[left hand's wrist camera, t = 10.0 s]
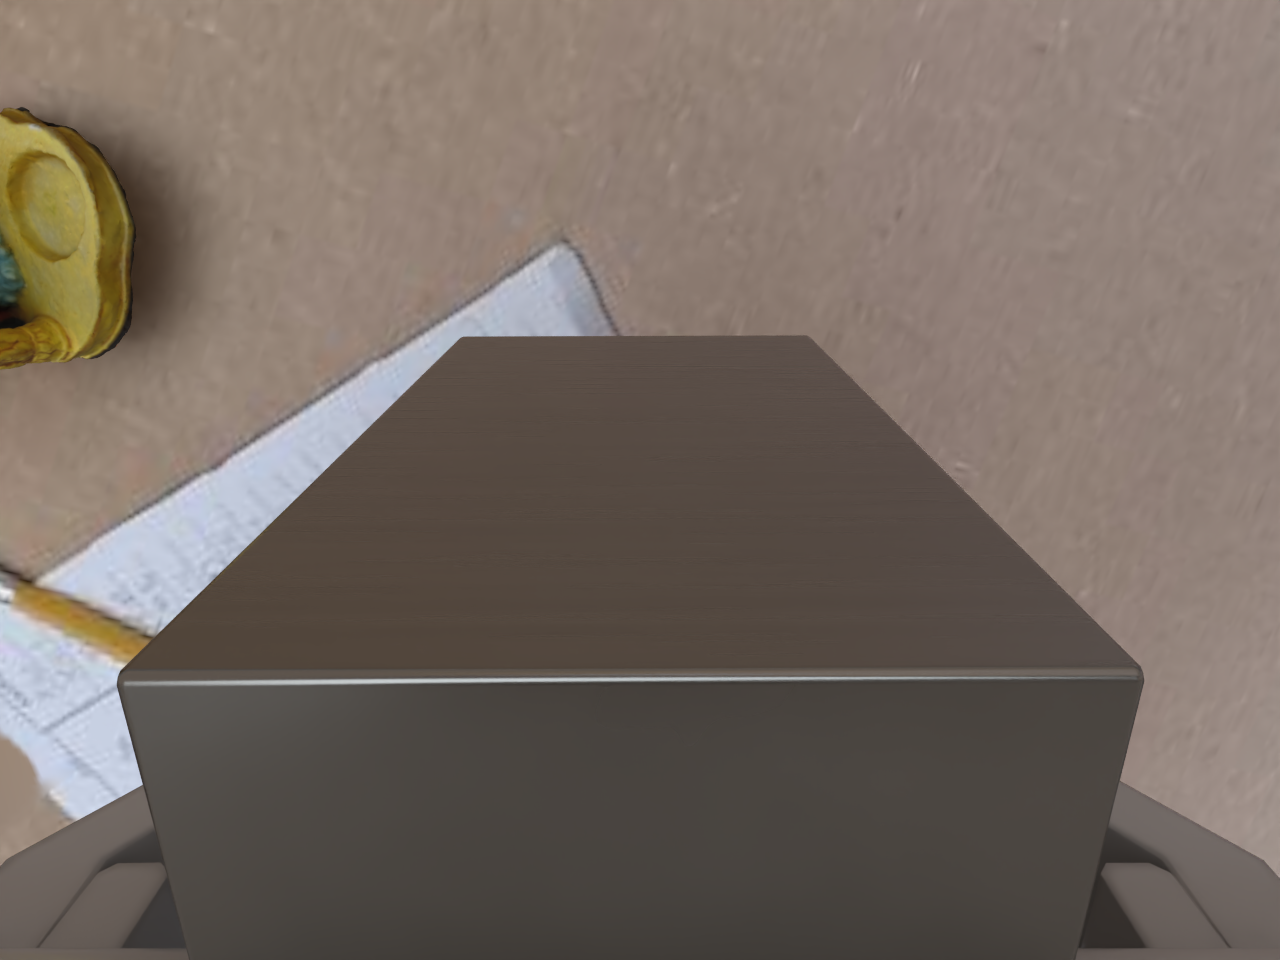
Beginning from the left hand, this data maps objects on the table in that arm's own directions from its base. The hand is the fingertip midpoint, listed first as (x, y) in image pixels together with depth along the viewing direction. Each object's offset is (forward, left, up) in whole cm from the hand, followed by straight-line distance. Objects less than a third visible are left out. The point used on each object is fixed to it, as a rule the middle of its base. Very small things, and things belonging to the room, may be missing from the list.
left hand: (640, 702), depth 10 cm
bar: (+10, +1, -3) cm, 10 cm away
